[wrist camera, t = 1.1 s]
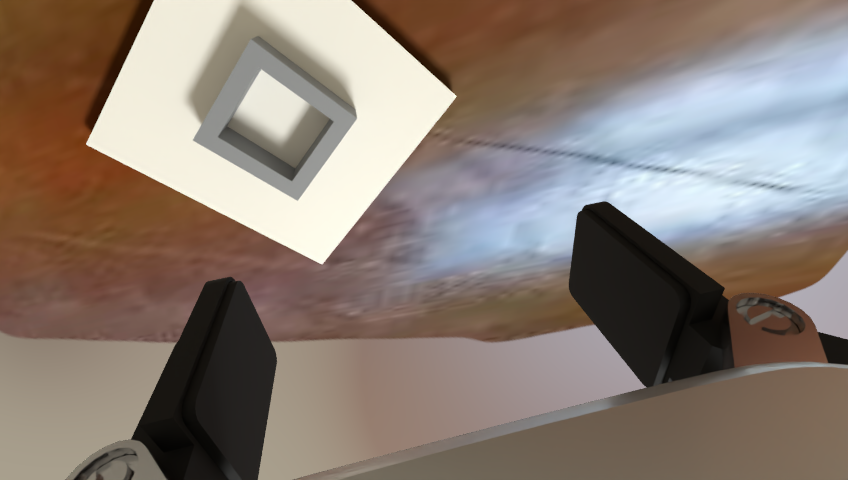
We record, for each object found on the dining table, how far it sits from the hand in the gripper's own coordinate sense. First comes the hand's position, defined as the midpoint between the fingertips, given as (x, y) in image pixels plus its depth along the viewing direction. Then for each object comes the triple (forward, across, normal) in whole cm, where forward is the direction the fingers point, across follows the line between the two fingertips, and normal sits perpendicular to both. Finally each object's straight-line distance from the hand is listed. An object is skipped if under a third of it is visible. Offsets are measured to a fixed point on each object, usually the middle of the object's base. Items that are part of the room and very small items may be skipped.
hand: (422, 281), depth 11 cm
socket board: (+25, +7, 0) cm, 26 cm away
